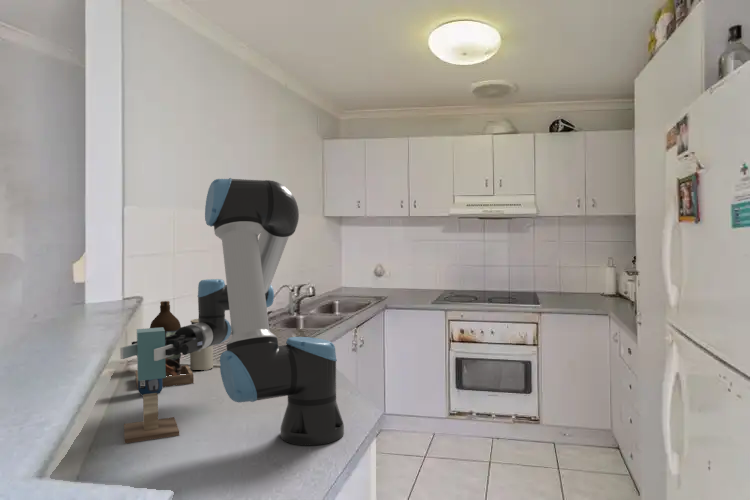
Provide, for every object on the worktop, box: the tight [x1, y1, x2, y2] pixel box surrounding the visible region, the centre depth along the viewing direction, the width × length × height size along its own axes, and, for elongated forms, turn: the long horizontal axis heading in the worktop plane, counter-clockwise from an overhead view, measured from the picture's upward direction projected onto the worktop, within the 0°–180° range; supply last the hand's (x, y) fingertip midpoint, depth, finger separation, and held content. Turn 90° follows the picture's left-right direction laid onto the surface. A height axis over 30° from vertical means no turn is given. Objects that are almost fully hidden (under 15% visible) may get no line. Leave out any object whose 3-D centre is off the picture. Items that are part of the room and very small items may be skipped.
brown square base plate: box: [123, 393, 180, 444], centre depth 137 cm, size 12×12×9 cm
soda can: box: [138, 378, 164, 396], centre depth 171 cm, size 7×7×12 cm
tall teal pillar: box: [136, 327, 166, 381], centre depth 138 cm, size 6×6×12 cm
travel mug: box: [189, 318, 214, 371], centre depth 204 cm, size 8×8×18 cm
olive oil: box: [149, 300, 182, 367], centre depth 202 cm, size 11×11×25 cm
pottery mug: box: [165, 358, 182, 376], centre depth 187 cm, size 12×10×8 cm
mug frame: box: [135, 364, 194, 390], centre depth 186 cm, size 15×17×3 cm
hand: (138, 354), depth 133 cm, fingers closed on tall teal pillar, 9 cm apart
